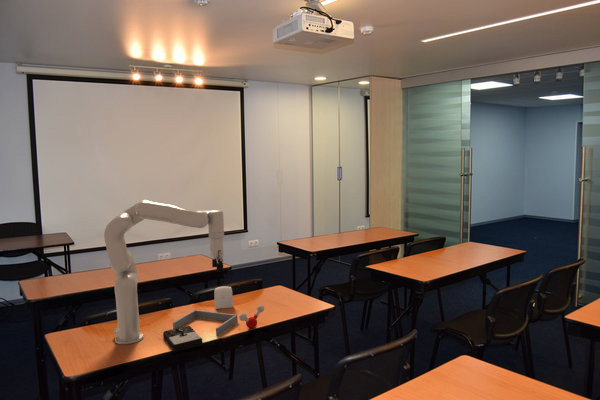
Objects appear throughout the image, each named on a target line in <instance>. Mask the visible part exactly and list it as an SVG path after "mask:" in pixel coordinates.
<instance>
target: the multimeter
mask: <svg viewBox="0 0 600 400" xmlns="http://www.w3.org/2000/svg"><path fill="white" fill-rule="evenodd" d="M162 332H163V333H162V336H163V339H164V341H165V342H166V343H167V345H168V346H169V347H170V349H171V350H172V352H173V353H176V352H181V351H185V350H189V349H192V348H197V347H200V346H203V338H202V337H201V336H200V334H198V333H197V332H196V330H194V329H193V328H192V327H191V326H190V325H187V326H181V327H180V328H177V329H173V328H172V329H168V330H164V331H162Z"/></svg>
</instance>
